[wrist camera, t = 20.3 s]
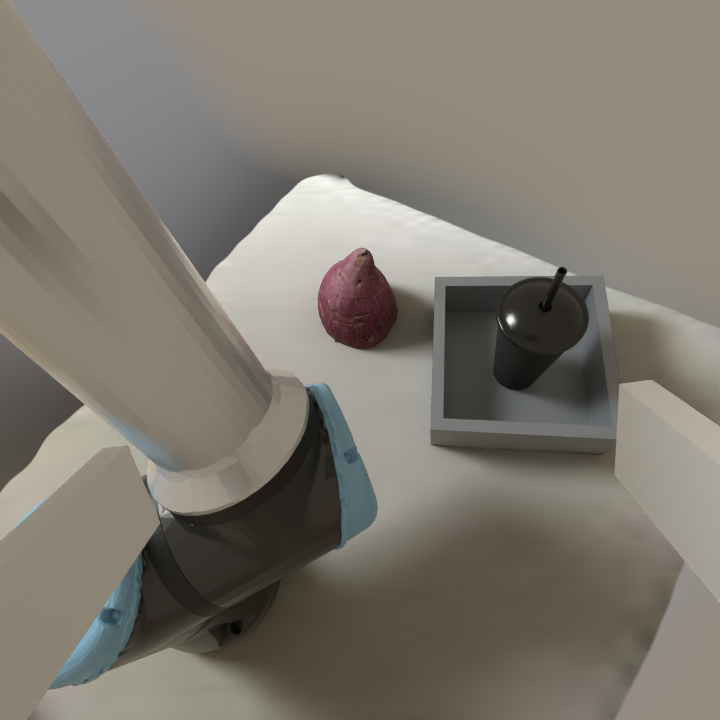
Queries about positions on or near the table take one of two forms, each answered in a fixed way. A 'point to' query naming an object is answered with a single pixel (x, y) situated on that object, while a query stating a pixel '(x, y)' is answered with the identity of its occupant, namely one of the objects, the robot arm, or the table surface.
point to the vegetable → (356, 302)
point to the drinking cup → (536, 328)
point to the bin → (528, 406)
